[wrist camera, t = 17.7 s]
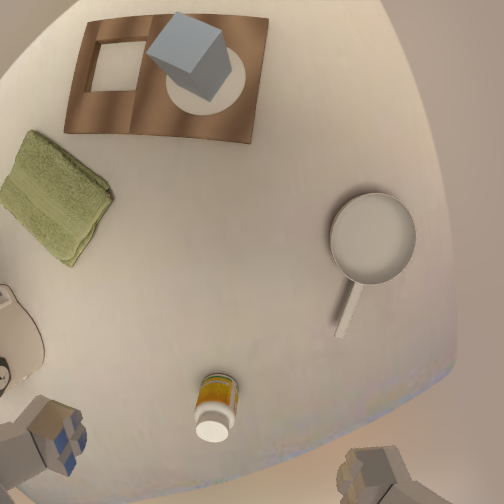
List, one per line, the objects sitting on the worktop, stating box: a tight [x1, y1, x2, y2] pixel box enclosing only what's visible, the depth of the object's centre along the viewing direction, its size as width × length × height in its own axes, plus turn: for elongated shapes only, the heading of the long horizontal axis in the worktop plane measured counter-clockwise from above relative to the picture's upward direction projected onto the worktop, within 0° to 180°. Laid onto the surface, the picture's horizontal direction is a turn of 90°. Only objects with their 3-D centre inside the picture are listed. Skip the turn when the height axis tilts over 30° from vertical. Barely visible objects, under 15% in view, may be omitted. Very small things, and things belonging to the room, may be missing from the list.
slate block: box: [146, 12, 232, 102], centre depth 26 cm, size 4×4×11 cm
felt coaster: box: [166, 47, 246, 116], centre depth 32 cm, size 9×9×1 cm
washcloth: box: [0, 130, 112, 267], centre depth 36 cm, size 13×18×3 cm
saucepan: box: [329, 193, 417, 339], centre depth 37 cm, size 11×18×4 cm, turn 164°
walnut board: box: [64, 14, 269, 144], centre depth 33 cm, size 24×16×2 cm, turn 82°
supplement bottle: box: [194, 374, 238, 442], centre depth 39 cm, size 5×5×10 cm
